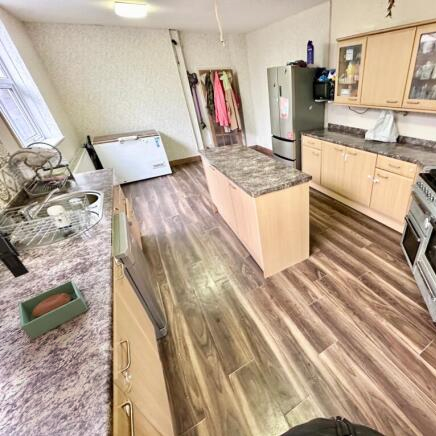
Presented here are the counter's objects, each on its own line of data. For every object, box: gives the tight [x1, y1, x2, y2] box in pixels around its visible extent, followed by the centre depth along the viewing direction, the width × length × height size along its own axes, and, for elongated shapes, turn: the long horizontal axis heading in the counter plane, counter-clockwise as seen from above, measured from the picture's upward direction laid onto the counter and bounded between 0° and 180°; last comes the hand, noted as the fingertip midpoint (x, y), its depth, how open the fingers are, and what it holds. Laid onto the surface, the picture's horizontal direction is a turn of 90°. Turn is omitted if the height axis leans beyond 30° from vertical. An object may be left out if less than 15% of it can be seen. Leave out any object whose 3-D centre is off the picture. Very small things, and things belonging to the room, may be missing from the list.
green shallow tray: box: [18, 279, 89, 340], centre depth 75 cm, size 14×14×6 cm
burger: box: [32, 293, 75, 319], centre depth 75 cm, size 10×9×5 cm
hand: (17, 265), depth 68 cm, fingers open, 13 cm apart
